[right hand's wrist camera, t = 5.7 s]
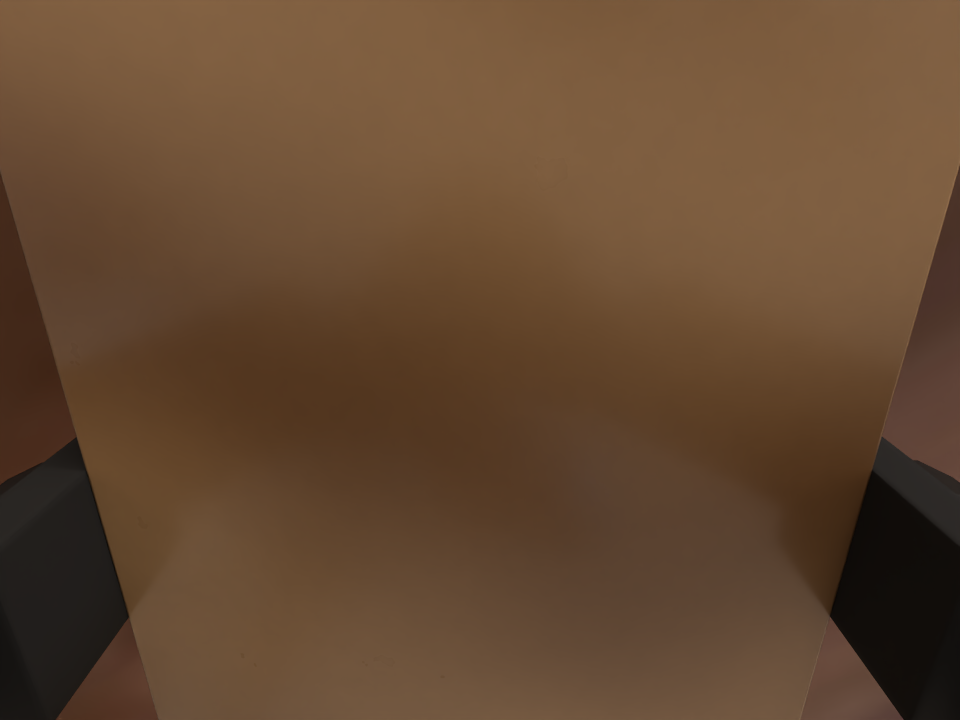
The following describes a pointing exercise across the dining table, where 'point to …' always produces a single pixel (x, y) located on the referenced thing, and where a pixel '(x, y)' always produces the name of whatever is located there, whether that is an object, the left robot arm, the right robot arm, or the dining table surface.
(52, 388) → the dining table surface
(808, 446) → the wooden block
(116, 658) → the dining table surface
